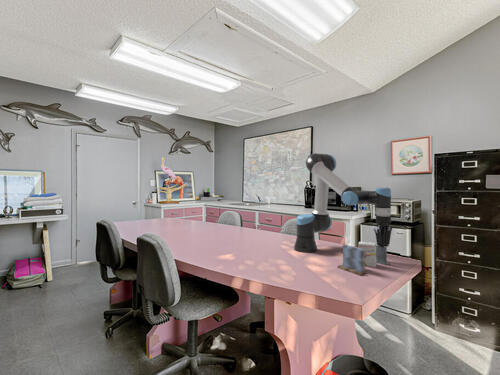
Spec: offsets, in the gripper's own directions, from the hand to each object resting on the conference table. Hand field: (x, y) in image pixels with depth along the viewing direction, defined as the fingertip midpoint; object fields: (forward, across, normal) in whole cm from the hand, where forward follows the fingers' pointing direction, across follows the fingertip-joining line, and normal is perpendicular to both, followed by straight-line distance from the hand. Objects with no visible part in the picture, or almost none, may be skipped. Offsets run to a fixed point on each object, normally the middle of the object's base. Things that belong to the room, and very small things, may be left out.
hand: (383, 258), depth 145 cm
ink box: (+2, -14, 0) cm, 14 cm away
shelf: (+3, -14, 0) cm, 15 cm away
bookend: (+2, -4, 0) cm, 4 cm away
